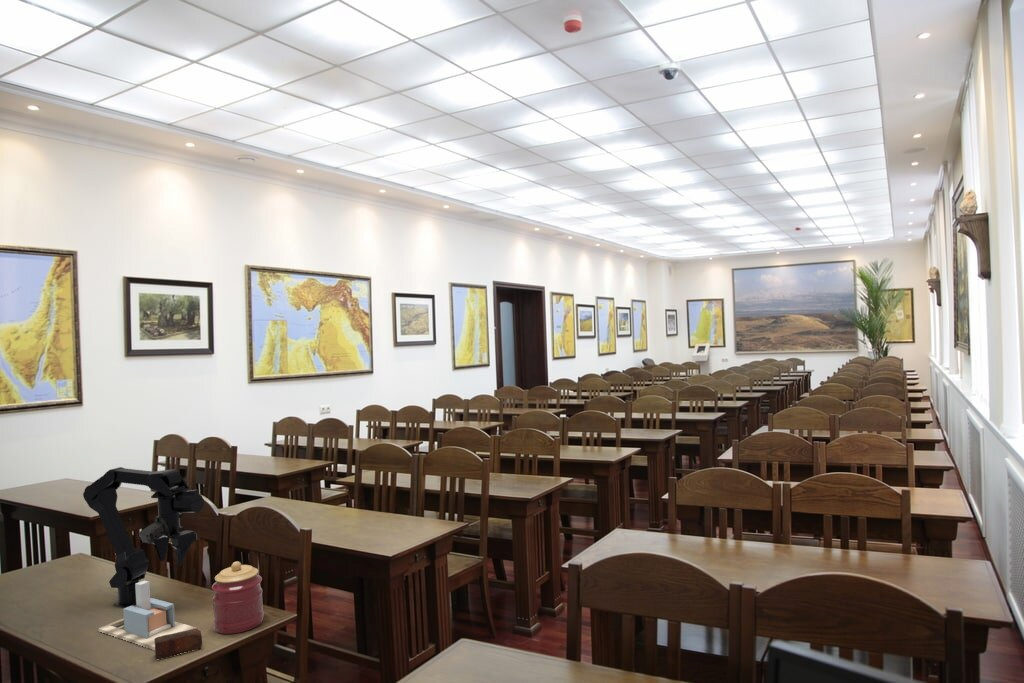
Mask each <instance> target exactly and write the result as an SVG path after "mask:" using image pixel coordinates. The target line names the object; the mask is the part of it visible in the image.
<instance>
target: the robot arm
mask: <svg viewBox="0 0 1024 683" xmlns="http://www.w3.org/2000/svg"><path fill="white" fill-rule="evenodd" d="M122 484H129V485H138V486H144V487H145V486H146V487H148V488H149V489H150V490H152V491H155V492H154V493H153V494H151V496H150V498H151V499H157V513H158V515H157V516H155V518H154V521H153V522H154V523H152V524H150V525H147V526H146V527H145V528H143V529H141V531H139V532H138V535H139V538H140V539H141V542H142V543H143V544H144V543H147V544H148V545H150V544H152V545H153V546H154V548H155V550H156V553H157V556H158V559H159V560H160V561H161V562H164V561H165V560H166V556H167V552H168V548H169V543H171V544H170V547H172V548H173V549H174V550H175V557H176V558H175V559H176V564H177V566H181V565H182V564H183V563H184V560H185V558H186V555H187V554H188V551H189V549H190V548H191V546H192V544H194V542H196V541H197V540H198V534H197V533H198V532H197V533H196V531H194V530H190V529H189V530H184V526H181V521H180V520H181V518H183V516H184V515H183V513H184V514H185V513H186V514H187V513H188V514H189V513H190V514H197V513H200V512H201V511H202V509H203V507H204V502H205V500H204V498H203V496H202V494H201V493H199V489H191V488H190V486H189V485H188V484H187V482H186V481H185V479H184V477H183V476H182V475H181V473H180V471H179V470H177V469H176V468H175V469H173V468H172V469H164V470H157V471H152V470H143V469H134V468H125V467H121V466H120V467H119V466H118V467H115V468H111V469H109V470H107V471H106V472H105V473H104V474H103V475H102V476H101V477H99V478H97V479H96V480H95V481H93V482H92V483H91V484H88V485H87V486H86V487H85V488H84V490H83V491H84V492H82V497H83V499H84V501H85V502H86V504H87V505H88V507H89V509H92V510H93V511H95V512H96V513H97V514H98V516H99V518H100V521H101V523H102V525H103V528H104V530H105V531H106V532H105V533H106V535H107V537H108V539H109V541H110V544H111V546H112V549H113V551H114V553H115V562H114V568H115V574H114V575H113V576H112V577H111V578H110V580H109V582H108V583H109V586H110V588H111V589H117V601H114V602H113V603H112V605H113V606H117V607H120V608H123V609H124V608H127V607H129V606H134V605H136V588H135V584H136V583H138V582H140V580H141V581H142V580H144V579H145V577H146V574H147V571H148V569H149V567H150V566H149V559H148V557H147V556H146V552H145V550H144V549H140V550H138V548H136V547H135V546H134V544H133V543H132V540H131V538H130V535H129V533H128V531H127V529H126V526H125V524H124V522H123V520H122V517H121V515H120V513H119V510H118V507H117V500H118V493H117V490H118V489H119V488H120V487H121V485H122ZM133 604H134V605H133Z"/></svg>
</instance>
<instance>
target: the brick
mask: <svg viewBox="0 0 1024 683" xmlns="http://www.w3.org/2000/svg"><path fill="white" fill-rule="evenodd" d="M154 640H155V651H154V656H155V660H156V659H160V660H162V659H161V658H164V659H167V658H166V657H168V658H171V657H170V656H172V657H175V656H174V655H176V656H178V655H177V654H180V653H184V652H187V653H189V652H188V651H191V652H193V651H192V650H195V651H197V650H196V649H198V650H200V649H201V647H202V644H203V636H202V631H201V630H200V629H190V630H186V631H182V632H178V633H174V634H168V635H164V636H160V637H157V638H155V639H154ZM199 648H200V649H199ZM184 654H185V653H184ZM180 655H181V654H180Z"/></svg>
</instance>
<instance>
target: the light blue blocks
mask: <svg viewBox="0 0 1024 683" xmlns="http://www.w3.org/2000/svg"><path fill="white" fill-rule="evenodd" d="M150 603H151V609H154V608H160V609H164V610H166V623H167V624H171V627H175V622H176V617H175V616H176V615H175V603H171V602H168V601H164V600H161V599H157V598H153V597H150ZM152 615H154V612H152V611H149V610H145V609H142V608H138V607H136V606H135V605H131V606H128V607H126V608H123V618H124V630H125V632H128V633H131V634H134V635H137V636H140V637H143V638H146V639H147V638H149V634H148V617H150V616H152Z"/></svg>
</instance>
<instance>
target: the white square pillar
mask: <svg viewBox="0 0 1024 683" xmlns="http://www.w3.org/2000/svg"><path fill="white" fill-rule="evenodd" d="M150 586H151V585H150V581H147V580H141V581H139V582H138V583H136V584H135V588H136V604H135V605H136V606H135V607H138V608H142V609H145V610H149V611H152V612H154V615H152V616H150V617H148V634H149V636H151V635H154V634H156V633H158V632H161V631H163V630H165V629H168V628H170V627H171V624H167V623H166V610H164V609H160V608H154V609H151V603H150V598H151V589H150V588H151V587H150Z"/></svg>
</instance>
